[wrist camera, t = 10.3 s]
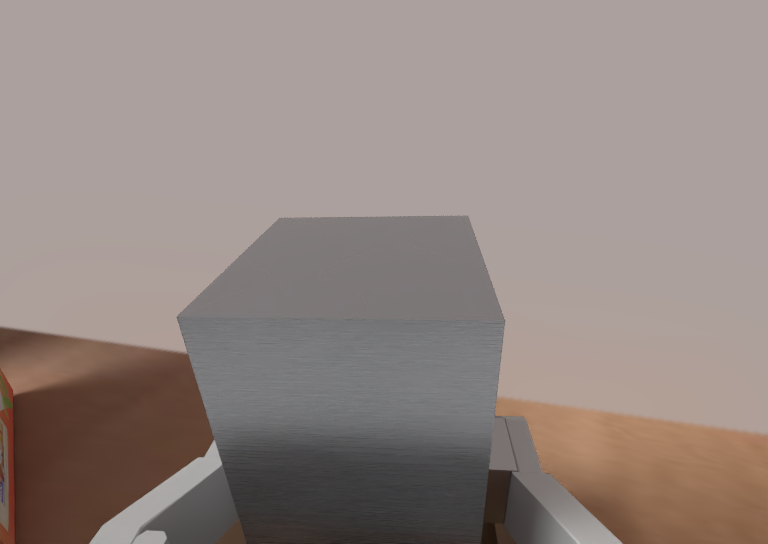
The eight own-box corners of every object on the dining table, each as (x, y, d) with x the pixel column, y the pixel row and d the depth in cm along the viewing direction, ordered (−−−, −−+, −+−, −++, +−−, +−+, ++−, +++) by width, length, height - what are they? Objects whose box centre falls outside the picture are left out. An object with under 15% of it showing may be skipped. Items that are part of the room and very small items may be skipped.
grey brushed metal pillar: (298, 711, 11) (176, 316, 6) (331, 543, 15) (279, 218, 10) (460, 728, 11) (504, 320, 5) (449, 551, 15) (467, 215, 9)
